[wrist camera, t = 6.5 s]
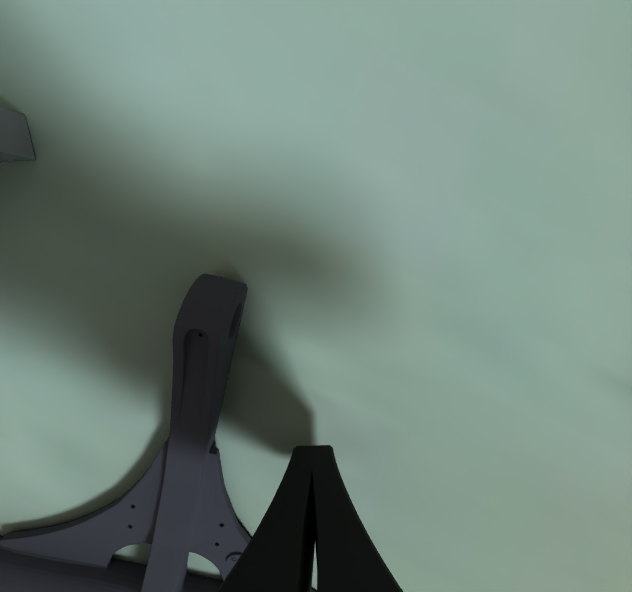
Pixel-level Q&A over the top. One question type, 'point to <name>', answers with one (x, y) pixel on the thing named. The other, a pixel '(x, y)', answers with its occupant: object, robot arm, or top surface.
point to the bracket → (156, 482)
